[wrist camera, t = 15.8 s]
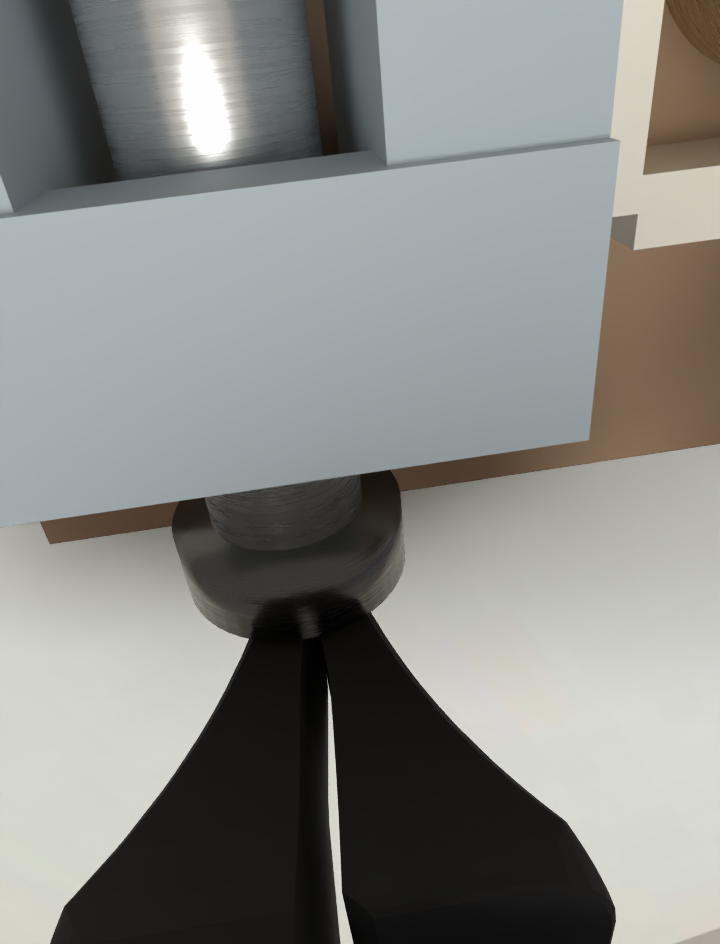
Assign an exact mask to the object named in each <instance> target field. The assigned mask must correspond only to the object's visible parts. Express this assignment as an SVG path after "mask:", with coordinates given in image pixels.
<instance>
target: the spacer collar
mask: <svg viewBox="0 0 720 944" xmlns="http://www.w3.org/2000/svg"><path fill="white" fill-rule="evenodd" d="M664 1H665V0H624V2H623V13H622V23H621V33H620V43H619V54H618V64H617V74H616V84H615V95H614V105H613V115H612V125H611V136H610V138H613V139H616V140H620V149H619V158H618V168H617V177H616V187H615V196H614V206H613V215H612V225H611V234H610V237H611V238H613V239H614V240H616V241H618V242H620V243H622V244H623V245H625V246H627V247H629V248H630V249H632V250H639V249H646V248H654V247H661V246H669V245H676V244H684V243H691V242H698V241H706V240H713V239H720V137H717V138H709V139H701V140H693V141H685V142H677V143H669V144H661V145H653V146H647V138H648V130H649V122H650V114H651V106H652V97H653V89H654V81H655V73H656V65H657V57H658V49H659V41H660V33H661V25H662V17H663V9H664Z"/></svg>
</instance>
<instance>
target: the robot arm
mask: <svg viewBox="0 0 720 944" xmlns="http://www.w3.org/2000/svg"><path fill="white" fill-rule="evenodd" d="M327 679H328V683H327ZM328 684H329V689H330V694H331V702H332V715H333V729H334V744H335V759H336V775H337V793H338V810H339V831H340V853H341V875H342V894H343V899H344V903H345V908H346V912H347V916H348V921H349V925H350V930H351V934H352V939H353V943H354V944H611V940H612V936H613V931H614V927H615V923H616V915H615V907H614V904H613V902H612V899H611V897H610V894H609V892H608V890H607V888H606V886H605V884H604V882H603V880H602V878H601V877H600V875H599V873H598V871H597V869H596V867H595V865H594V864H593V862H592V860H591V859H590V857H589V856H588V854H587V852H586V851H585V849H584V847H583V846H582V844H581V843H580V841H579V840H578V838H577V837H576V835H575V834H574V832H573V831H572V830H571V828H570V827H569V825H568V824H567V822H566V821H565V820H563V819H562V818H561V817H560V816H558V815H557V814H556V813H554V812H553V811H552V810H550V809H549V808H548V807H547V806H545V805H544V804H543V803H541V802H540V801H539V800H538V799H536V798H535V797H534V796H533V795H532V794H530V793H529V792H528V791H527V790H525V789H524V788H523V787H522V786H521V785H519V784H518V783H517V782H516V781H515V780H514V779H513V778H511V777H510V776H509V775H508V774H507V773H506V772H505V771H503V770H502V769H501V768H500V767H499V766H498V765H497V764H495V763H494V762H493V761H492V760H491V759H490V758H489V757H488V756H487V755H486V754H485V753H484V752H483V751H482V750H481V749H480V748H479V747H478V746H477V745H476V744H475V743H474V742H473V741H472V740H471V739H470V738H469V737H468V736H467V735H466V734H465V733H464V732H462V731H461V730H460V729H459V728H458V727H457V726H456V725H455V723H454V722H453V721H452V720H451V719H450V718H449V717H448V716H447V715H446V714H445V712H444V711H443V710H442V709H441V708H440V707H439V706H438V705H437V704H436V702H435V701H434V700H433V699H432V698H431V697H430V695H429V694H428V693H427V692H426V691H425V689H424V688H423V687H422V686H421V685H420V683H419V682H418V681H417V680H416V678H415V677H414V676H413V674H412V673H411V672H410V670H409V669H408V668H407V666H406V665H405V664H404V662H403V661H402V659H401V658H400V657H399V655H398V654H397V653H396V651H395V650H394V648H393V647H392V645H391V644H390V642H389V641H388V639H387V638H386V636H385V635H384V633H383V631H382V630H381V628H380V626H379V625H378V623H377V622H376V620H375V618H374V617H373V615H372V613H371V612H370V613H368V614H367V615H365V616H364V617H363V618H361V619H359V620H357V621H356V622H354V623H352V624H350V625H348V626H346V627H343V628H341V629H339V630H336V631H334V632H331V633H327V634H324V635H321V636H317V637H312V638H308V639H303V640H294V641H262V640H254V639H249V640H248V643H247V645H246V648H245V650H244V652H243V655H242V657H241V659H240V661H239V663H238V665H237V667H236V669H235V671H234V673H233V675H232V677H231V680H230V682H229V684H228V686H227V688H226V690H225V692H224V694H223V696H222V697H221V699H220V701H219V703H218V705H217V707H216V708H215V710H214V712H213V714H212V716H211V717H210V719H209V721H208V722H207V724H206V726H205V727H204V729H203V731H202V732H201V734H200V736H199V737H198V739H197V741H196V742H195V744H194V745H193V747H192V748H191V750H190V751H189V753H188V754H187V756H186V757H185V759H184V760H183V762H182V763H181V765H180V766H179V768H178V769H177V771H176V772H175V774H174V775H173V777H172V778H171V779H170V781H169V782H168V784H167V785H166V786H165V788H164V789H163V791H162V792H161V793H160V795H159V796H158V797H157V798H156V800H155V801H154V802H153V804H152V805H151V806H150V807H149V809H148V810H147V811H146V812H145V814H144V815H143V816H142V818H141V819H140V820H139V821H138V823H137V824H136V825H135V827H134V828H133V829H132V830H131V832H130V833H129V834H128V836H127V837H126V838H125V839H124V840H123V842H122V843H121V844H120V845H119V846H118V848H117V849H116V850H115V851H114V852H113V853H112V854H111V856H110V857H109V858H108V859H107V860H106V861H105V862H104V863H103V864H102V866H101V867H100V868H99V869H98V870H97V871H96V872H95V873H94V874H93V876H92V877H91V878H90V879H89V880H88V881H87V882H86V883H85V884H84V886H83V887H82V888H81V889H80V890H79V891H78V892H77V893H76V894H75V896H74V897H73V898H72V899H71V900H70V901H69V902H68V903H67V904H66V905H65V906H64V909H63V911H62V914H61V916H60V919H59V921H58V924H57V926H56V929H55V932H54V934H53V937H52V940H51V943H50V944H340V935H339V925H338V914H337V904H336V893H335V883H334V872H333V861H332V850H331V839H330V828H329V808H328Z"/></svg>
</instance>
